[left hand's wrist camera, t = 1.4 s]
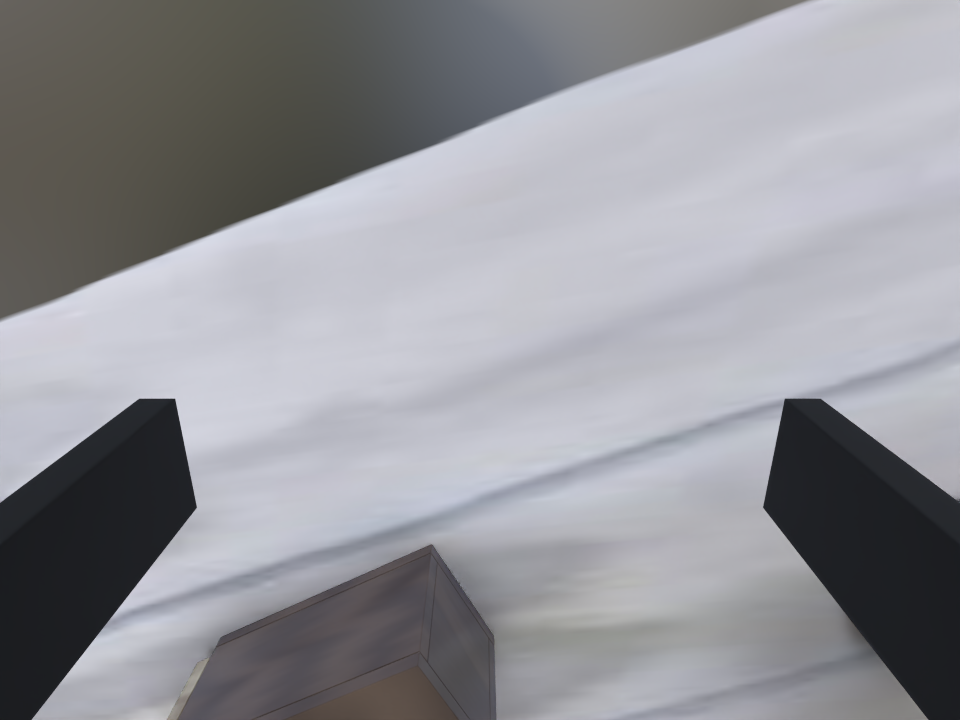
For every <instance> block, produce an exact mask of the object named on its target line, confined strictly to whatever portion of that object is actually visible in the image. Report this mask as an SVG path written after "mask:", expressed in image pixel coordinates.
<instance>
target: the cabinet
mask: <svg viewBox="0 0 960 720" xmlns="http://www.w3.org/2000/svg"><path fill="white" fill-rule="evenodd" d="M178 720H496V691H495V659H494V636H493V634H492V633H491V631H490V630H489V628H488V627H487V625H486V624H485V622H484V621H483V620H482V618H481V617H480V615H479V614H478V612H477V611H476V609H475V608H474V606H473V605H472V603H471V602H470V600H469V599H468V597H467V596H466V594H465V593H464V591H463V590H462V588H461V587H460V585H459V584H458V582H457V581H456V580H455V578H454V577H453V575H452V574H451V572H450V571H449V569H448V568H447V566H446V565H445V563H444V562H443V560H442V559H441V557H440V556H439V554H438V553H437V551H436V550H435V548H434V547H433V545H430V546H427V547H425V548H423V549H420V550H418V551H416V552H414V553H411V554H409V555H407V556H405V557H402V558H400V559H398V560H396V561H393V562H391V563H389V564H386V565H384V566H382V567H380V568H377V569H375V570H373V571H371V572H368V573H366V574H364V575H362V576H359V577H357V578H355V579H352V580H350V581H348V582H346V583H343V584H341V585H339V586H337V587H334V588H332V589H330V590H327V591H325V592H323V593H321V594H318V595H316V596H314V597H312V598H309V599H307V600H305V601H303V602H300V603H298V604H296V605H293V606H291V607H289V608H287V609H284V610H282V611H280V612H278V613H275V614H273V615H271V616H269V617H266V618H264V619H262V620H259V621H257V622H255V623H253V624H250V625H248V626H246V627H244V628H241V629H239V630H237V631H235V632H232V633H230V634H228V635H225V636H223V637H221V638H220V640H219V642H218V644H217V646H216V648H215V650H214V652H213V654H212V656H211V658H210V660H209V662H208V664H207V665H206V667H205V669H204V671H203V673H202V675H201V677H200V679H199V681H198V683H197V685H196V687H195V689H194V690H193V692H192V694H191V696H190V698H189V700H188V702H187V704H186V706H185V708H184V710H183V712H182V714H181V715H180V717H179V719H178Z"/></svg>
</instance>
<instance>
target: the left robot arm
mask: <svg viewBox="0 0 960 720" xmlns="http://www.w3.org/2000/svg"><path fill="white" fill-rule="evenodd" d="M196 508H197V506H196V501H195V496H194V491H193V486H192V481H191V476H190V471H189V466H188V461H187V456H186V451H185V446H184V441H183V436H182V431H181V426H180V421H179V416H178V411H177V406H176V401H175V399H138V400H137V401H136V402H134V403H133V404H132V405H130V406H129V407H128V408H126V409H125V410H124V411H122V412H121V413H120V414H118V415H117V416H116V417H114V418H113V419H112V420H110V421H109V422H108V423H106V424H105V425H104V426H102V427H101V428H100V429H98V430H97V431H96V432H94V433H93V434H92V435H90V436H89V437H88V438H86V439H85V440H84V441H82V442H81V443H80V444H78V445H77V446H76V447H74V448H73V449H72V450H70V451H69V452H68V453H66V454H65V455H64V456H62V457H61V458H60V459H58V460H57V461H56V462H54V463H53V464H52V465H50V466H49V467H48V468H46V469H45V470H44V471H42V472H41V473H40V474H38V475H37V476H36V477H34V478H33V479H32V480H30V481H29V482H27V483H26V484H25V485H23V486H22V487H21V488H19V489H18V490H17V491H15V492H14V493H13V494H11V495H10V496H9V497H7V498H6V499H5V500H3V501H2V502H1V503H0V720H32V718H33V717H34V716H35V715H36V713H37V712H38V711H39V709H40V708H41V707H42V706H43V704H44V703H45V702H46V700H47V699H48V698H49V697H50V695H51V694H52V693H53V691H54V690H55V689H56V688H57V686H58V685H59V684H60V682H61V681H62V680H63V679H64V677H65V676H66V675H67V673H68V672H69V671H70V670H71V668H72V667H73V666H74V664H75V663H76V662H77V661H78V659H79V658H80V657H81V656H82V654H83V653H84V652H85V650H86V649H87V648H88V647H89V645H90V644H91V643H92V641H93V640H94V639H95V638H96V636H97V635H98V634H99V632H100V631H101V630H102V629H103V627H104V626H105V625H106V623H107V622H108V621H109V620H110V618H111V617H112V616H113V614H114V613H115V612H116V611H117V609H118V608H119V607H120V605H121V604H122V603H123V602H124V600H125V599H126V598H127V596H128V595H129V594H130V593H131V591H132V590H133V589H134V587H135V586H136V585H137V584H138V582H139V581H140V580H141V579H142V577H143V576H144V575H145V573H146V572H147V571H148V570H149V568H150V567H151V566H152V564H153V563H154V562H155V561H156V559H157V558H158V557H159V555H160V554H161V553H162V552H163V550H164V549H165V548H166V546H167V545H168V544H169V543H170V541H171V540H172V539H173V537H174V536H175V535H176V534H177V532H178V531H179V530H180V528H181V527H182V526H183V525H184V523H185V522H186V521H187V519H188V518H189V517H190V516H191V514H192V513H193V512H194V511H195V509H196ZM763 508H764V509H765V511H766V512H767V513H768V514H769V516H770V517H771V518H772V519H773V521H774V522H775V523H776V525H777V526H778V527H779V528H780V530H781V531H782V532H783V534H784V535H785V536H786V537H787V539H788V540H789V541H790V543H791V544H792V545H793V546H794V548H795V549H796V550H797V552H798V553H799V554H800V555H801V557H802V558H803V559H804V561H805V562H806V563H807V564H808V566H809V567H810V568H811V570H812V571H813V572H814V573H815V575H816V576H817V577H818V579H819V580H820V581H821V582H822V584H823V585H824V586H825V588H826V589H827V590H828V591H829V593H830V594H831V595H832V596H833V598H834V599H835V600H836V602H837V603H838V604H839V605H840V607H841V608H842V609H843V611H844V612H845V613H846V614H847V616H848V617H849V618H850V620H851V621H852V622H853V623H854V625H855V626H856V627H857V629H858V630H859V631H860V633H861V634H862V635H863V636H864V638H865V639H866V640H867V642H868V643H869V644H870V645H871V647H872V648H873V649H874V650H875V652H876V653H877V654H878V656H879V657H880V658H881V659H882V661H883V662H884V663H885V664H886V666H887V667H888V668H889V670H890V671H891V672H892V673H893V675H894V676H895V677H896V679H897V680H898V681H899V682H900V684H901V685H902V686H903V688H904V689H905V690H906V691H907V693H908V694H909V695H910V697H911V698H912V699H913V700H914V702H915V703H916V704H917V706H918V707H919V708H920V709H921V711H922V712H923V713H924V715H925V716H926V717H927V718H928V720H960V501H957V500H955V499H954V498H953V497H951V496H950V495H949V494H947V493H946V492H945V491H943V490H942V489H941V488H939V487H938V486H937V485H935V484H934V483H933V482H931V481H930V480H928V479H927V478H926V477H924V476H923V475H922V474H920V473H919V472H918V471H916V470H915V469H914V468H912V467H911V466H910V465H908V464H907V463H906V462H904V461H903V460H902V459H900V458H899V457H898V456H896V455H895V454H894V453H892V452H891V451H890V450H888V449H887V448H886V447H884V446H883V445H882V444H880V443H879V442H878V441H876V440H875V439H874V438H872V437H871V436H870V435H868V434H867V433H866V432H864V431H863V430H862V429H860V428H859V427H858V426H856V425H855V424H854V423H852V422H851V421H850V420H848V419H847V418H846V417H844V416H843V415H842V414H840V413H839V412H838V411H836V410H835V409H834V408H832V407H831V406H830V405H828V404H827V403H826V402H824V401H823V400H822V399H785V401H784V406H783V411H782V416H781V421H780V426H779V431H778V436H777V441H776V446H775V451H774V456H773V461H772V466H771V471H770V476H769V481H768V486H767V491H766V496H765V501H764V506H763Z"/></svg>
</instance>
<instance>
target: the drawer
mask: <svg viewBox="0 0 960 720" xmlns="http://www.w3.org/2000/svg"><path fill="white" fill-rule="evenodd" d="M209 660H210V657H209V658H207V659H205V660H202V661H200V662H198V663H197V665H196V667H195V668H194V670H193V672H192V674H191V676H190V678H189V680H188V681H187V683H186V685H185V687H184V689H183V691H182V693H181V694H180V696H179V698H178V700H177V702H176V704H175V706H174V707H173V709H172V711H171V713H170V715H169V717H168V718H167V720H178V719H179V717H180V715H181V714H182V712H183V710H184V708H185V706H186V704H187V702H188V700H189V698H190V696H191V694H192V692H193V690H194V689H195V687H196V685H197V683H198V681H199V679H200V677H201V675H202V673H203V671H204V669H205V667H206V665H207V664H208V662H209Z"/></svg>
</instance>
